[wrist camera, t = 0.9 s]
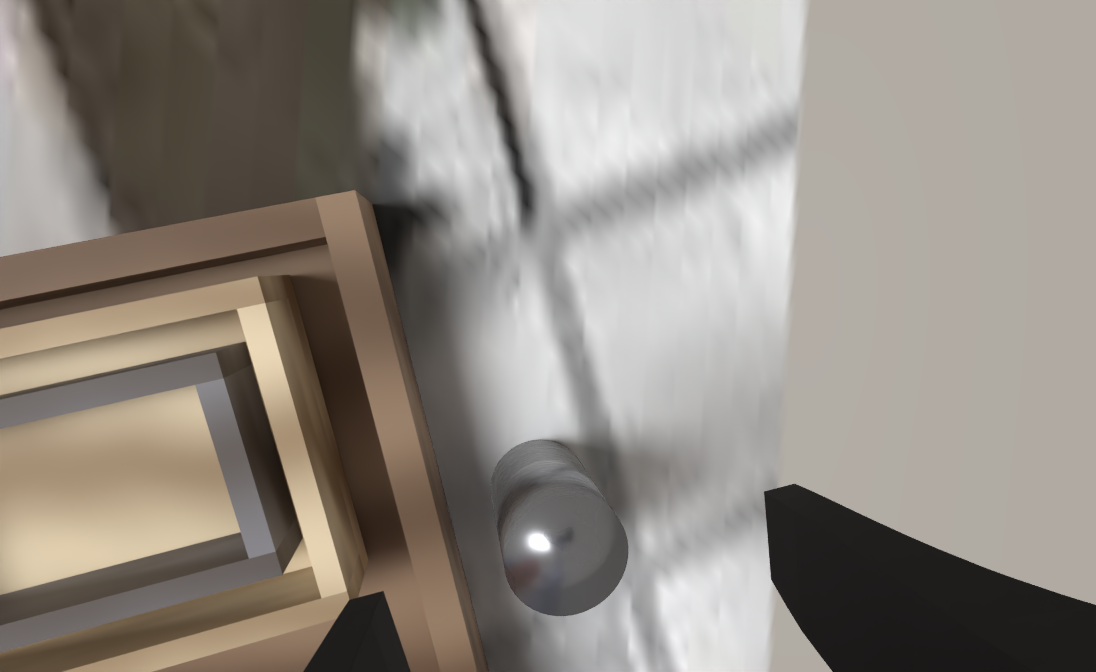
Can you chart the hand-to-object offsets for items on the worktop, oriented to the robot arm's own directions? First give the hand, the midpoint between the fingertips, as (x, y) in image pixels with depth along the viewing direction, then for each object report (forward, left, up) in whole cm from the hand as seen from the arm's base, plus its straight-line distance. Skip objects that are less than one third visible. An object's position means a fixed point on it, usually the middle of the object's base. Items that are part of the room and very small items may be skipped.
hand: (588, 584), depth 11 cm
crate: (+2, +14, -12) cm, 19 cm away
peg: (-3, 0, -13) cm, 14 cm away
